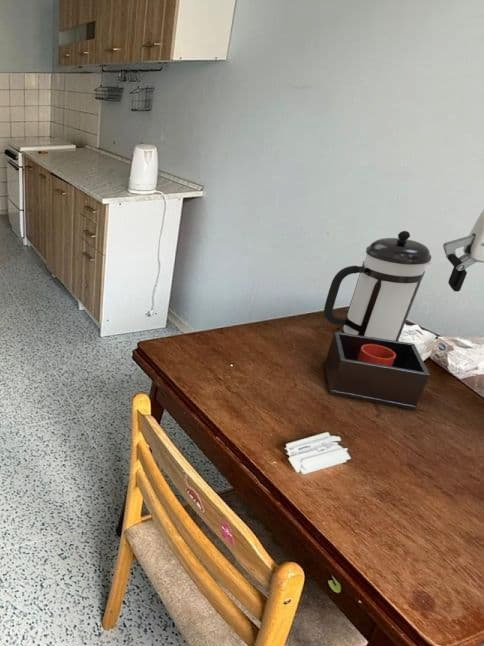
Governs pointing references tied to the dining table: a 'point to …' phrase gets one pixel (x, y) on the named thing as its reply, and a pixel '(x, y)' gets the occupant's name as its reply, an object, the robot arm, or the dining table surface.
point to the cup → (376, 355)
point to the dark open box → (375, 372)
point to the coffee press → (382, 288)
